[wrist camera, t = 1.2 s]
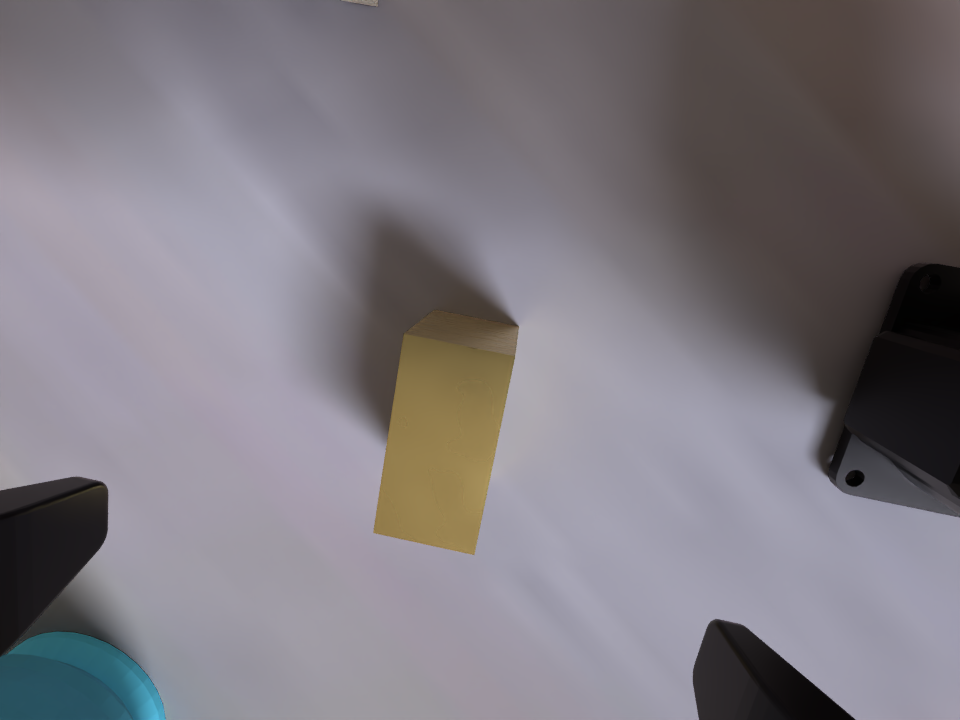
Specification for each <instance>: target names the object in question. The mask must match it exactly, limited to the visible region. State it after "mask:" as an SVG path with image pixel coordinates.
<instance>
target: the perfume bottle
mask: <svg viewBox="0 0 960 720" xmlns="http://www.w3.org/2000/svg"><path fill="white" fill-rule="evenodd" d="M0 720H166V719H165V713H164V708H163V704H162V701H161V699H160V696H159V694H158V691H157V690H156V688H155V686H154V685H153V683H152V682H151V680H150V678H149V677H148V676H147V675H146V673H145V672H144V671H143V670H142V669H141V668H140V667H139V666H138V664H137V663H135V662H134V661H133V660H132V659H130V658H129V657H128V656H127V655H126V654H124V653H123V652H122V651H120V650H118V649H117V648H115V647H113V646H112V645H110V644H108V643H106V642H104V641H101V640H99V639H96V638H94V637H91V636H87V635H83V634H79V633H74V632H58V631H57V632H50V633H42V634H39V635H36V636H34V637H31V638H28V639H27V640H25V641H24V642H22V643H21V644H19V645H18V646H16V647H15V648H14V649H13V650H11V651H10V652H9V653H8V654H7V655H2V656H1V657H0Z"/></svg>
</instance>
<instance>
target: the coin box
mask: <svg viewBox="0 0 960 720" xmlns="http://www.w3.org/2000/svg"><path fill="white" fill-rule="evenodd" d="M342 1H348V2H353V3H359V4H365V5H371V6H376V7H377V6H378V0H342Z"/></svg>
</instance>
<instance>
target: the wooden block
mask: <svg viewBox="0 0 960 720" xmlns="http://www.w3.org/2000/svg"><path fill="white" fill-rule="evenodd" d="M518 330H519V326H514V325H509V324H504V323H499V322H494V321H489V320H484V319H479V318H474V317H469V316H464V315H459V314H454V313H449V312H444V311H439V310H434V311H432V312H431V313H430V314H428V315H427V316H426V317H425V318H423V319H422V320H421V321H419V322H418V323H417V324H416V325H414V326H413V327H412V328H410V329H409V330H408V331H407V332H405V333H404V335H403V341H402V348H401V354H400V361H399V368H398V374H397V381H396V387H395V394H394V400H393V407H392V413H391V420H390V427H389V433H388V440H387V446H386V453H385V459H384V466H383V473H382V479H381V486H380V492H379V499H378V505H377V512H376V518H375V525H374V532H373V533H376V534H381V535H385V536H390V537H395V538H399V539H404V540H408V541H413V542H417V543H422V544H426V545H431V546H436V547H440V548H445V549H449V550H454V551H458V552H463V553H468V554H472V555H474V554H475V549H476V544H477V539H478V534H479V529H480V524H481V520H482V515H483V510H484V505H485V500H486V495H487V490H488V485H489V481H490V476H491V471H492V466H493V461H494V456H495V451H496V447H497V442H498V437H499V432H500V427H501V422H502V417H503V413H504V408H505V403H506V398H507V393H508V388H509V383H510V379H511V374H512V369H513V364H514V359H515V353H516V345H517V338H518Z"/></svg>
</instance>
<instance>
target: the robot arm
mask: <svg viewBox="0 0 960 720" xmlns="http://www.w3.org/2000/svg"><path fill="white" fill-rule="evenodd" d="M927 274H928V276H929V278H930V284H929V285H928V287H927V288H926V289H925V290H923V291H921V289H920V287H919V286H920V281H921V279H922V278H923V277H924V276H926V275H927ZM844 423H845V427H844V430H843V433H842V435H841V438H840V441H839V444H838V446H837V449H836V452H835V454H834V457H833V460H832V462H831V465H830V468H829V473H828V476H829V479H830V481H831V482H832V483H833V484H834V485H835V486H836V487H837V488H838V489H840V490H841V491H842V492H844V493H846V494H849V495H854V496H859V497H863V498H868V499H873V500H878V501H883V502H888V503H892V504H897V505H902V506H907V507H912V508H917V509H921V510H926V511H931V512H936V513H941V514H946V515H950V516H955V517H960V268H957V267H952V266H946V265H941V264H932V263H918V264H915V265H912V266H910V267H909V268H908V269H907V270H905V271H904V273H903V274H902V276H901V278H900V280H899V282H898V285H897V288H896V290H895V293H894V296H893V299H892V301H891V304H890V307H889V309H888V312H887V315H886V317H885V320H884V323H883V325H882V328H881V331H880V333H879V335H878V336H877V337H875V338H874V340H873V342H872V345H871V348H870V350H869V353H868V356H867V359H866V361H865V364H864V367H863V369H862V372H861V375H860V377H859V380H858V383H857V386H856V388H855V391H854V394H853V396H852V399H851V402H850V404H849V407H848V410H847V413H846V415H845V418H844ZM852 470H856V475H855V476H854V478H852V479H850V480H845V477H846V475H847V474H848V472H850V471H852ZM107 531H108V489H107V486H106V485H105V484H104V483H103V482H101V481H96V480H92V479H87V478H83V477H70V478H64V479H59V480H54V481H48V482H43V483H38V484H32V485H27V486H22V487H17V488H11V489H6V490H1V491H0V657H1V656H2V655H3V654H4V653H5V652H6V651H7V650H8V649H9V648H10V647H11V646H12V645H13V644H14V643H15V642H16V641H17V640H18V639H19V638H20V637H21V636H22V635H23V634H24V633H25V632H26V631H27V630H28V629H29V627H30V626H31V625H32V624H33V623H34V622H35V621H36V620H37V619H38V618H39V616H40V615H41V614H42V613H43V612H44V611H45V610H46V609H47V607H48V606H49V605H50V604H51V603H52V602H53V601H54V600H55V598H56V597H57V596H58V595H59V594H60V593H61V592H62V591H63V590H64V588H65V587H66V586H67V585H68V584H69V583H70V582H71V581H72V579H73V578H74V577H75V576H76V575H77V574H78V573H79V572H80V570H81V569H82V568H83V567H84V566H85V565H86V564H87V563H88V561H89V560H90V559H91V558H92V557H93V556H94V555H95V554H96V552H97V551H98V550H99V549H100V548H101V546H102V544H103V543H104V541H105V538H106V535H107ZM693 686H694V692H695V698H696V704H697V710H698V716H699V720H855V719H854V718H853V717H852V716H851V715H849V714H848V713H847V712H846V711H845V710H844V709H842V708H841V707H840V706H839V705H838V704H836V703H835V702H834V701H833V700H832V699H830V698H829V697H828V696H827V695H826V694H825V693H823V692H822V691H821V690H820V689H819V688H817V687H816V686H815V685H814V684H813V683H812V682H810V681H809V680H808V679H807V678H806V677H804V676H803V675H802V674H801V673H800V672H798V671H797V670H796V669H795V668H794V667H793V666H791V665H790V664H789V663H788V662H787V661H785V660H784V659H783V658H782V657H781V656H780V655H778V654H777V653H776V652H775V651H774V650H772V649H771V648H770V647H769V646H768V645H766V644H765V643H764V642H763V641H762V640H761V639H759V638H758V637H757V636H756V635H755V634H753V633H752V632H751V631H750V630H749V629H748V628H746V627H745V626H743V625H741V624H738V623H733V622H729V621H724V620H719V619H715V620H713V621H711V622H710V623H709V625H708V627H707V629H706V632H705V635H704V638H703V641H702V644H701V647H700V650H699V653H698V655H697V658H696V661H695V665H694V669H693Z"/></svg>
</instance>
